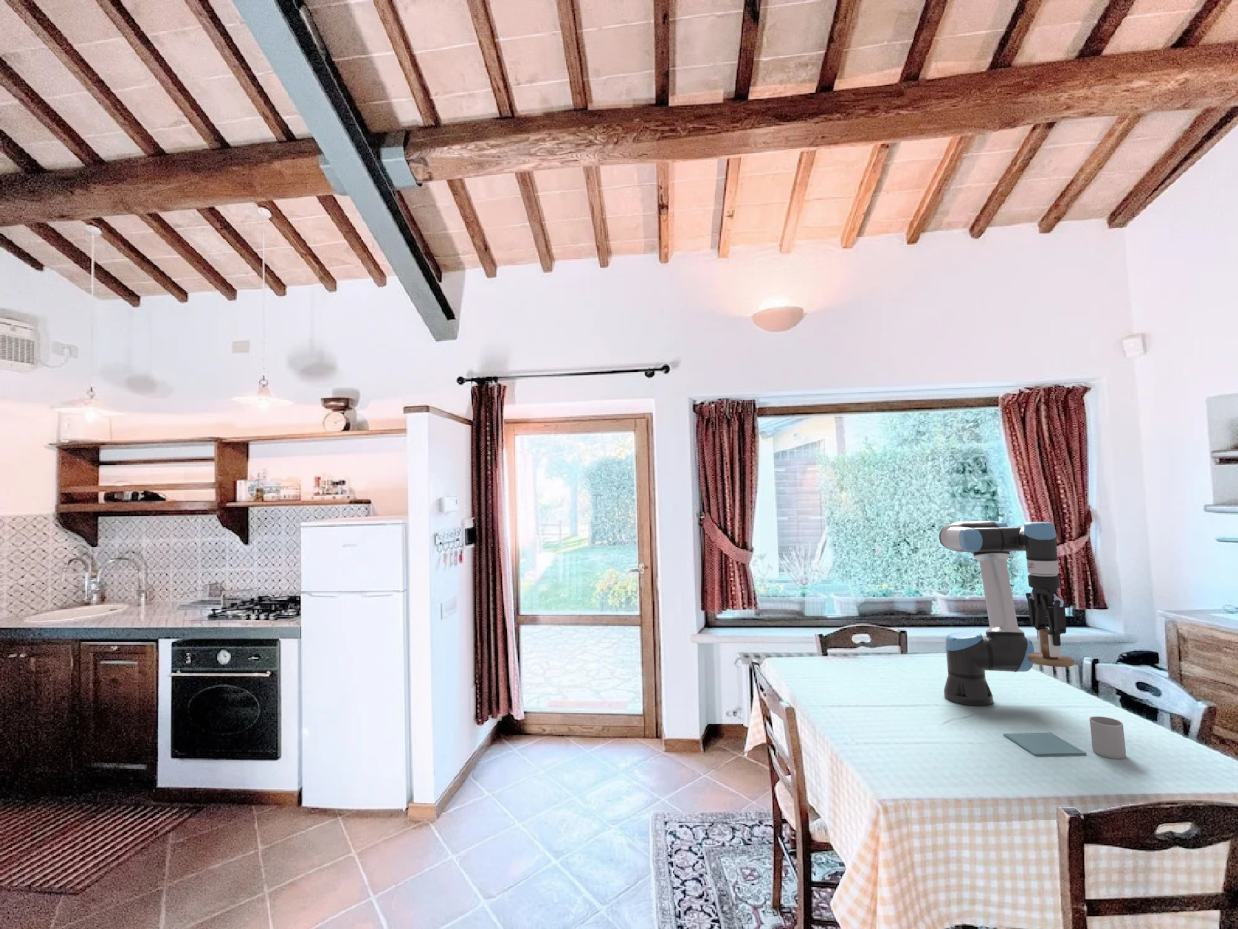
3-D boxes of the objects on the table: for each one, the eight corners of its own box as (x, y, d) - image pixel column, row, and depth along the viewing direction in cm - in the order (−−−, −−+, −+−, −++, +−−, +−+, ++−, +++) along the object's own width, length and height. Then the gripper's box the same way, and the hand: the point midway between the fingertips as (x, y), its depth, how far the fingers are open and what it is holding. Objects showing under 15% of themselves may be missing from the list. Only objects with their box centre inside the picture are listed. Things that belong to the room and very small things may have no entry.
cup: (1100, 758, 156) (1097, 725, 157) (1082, 743, 166) (1079, 712, 167) (1132, 760, 154) (1128, 727, 155) (1112, 745, 164) (1109, 713, 165)
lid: (1018, 656, 172) (1016, 626, 172) (1055, 655, 172) (1052, 625, 172) (1045, 667, 161) (1042, 635, 161) (1084, 666, 161) (1081, 634, 161)
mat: (1003, 735, 173) (1003, 733, 173) (1050, 734, 172) (1050, 732, 172) (1034, 756, 159) (1034, 753, 159) (1086, 755, 159) (1086, 752, 159)
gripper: (1011, 571, 176) (1017, 647, 175) (1051, 578, 160) (1058, 663, 158) (1035, 570, 176) (1042, 646, 175) (1078, 577, 159) (1085, 662, 158)
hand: (1050, 654), depth 166 cm, fingers closed on lid, 3 cm apart
